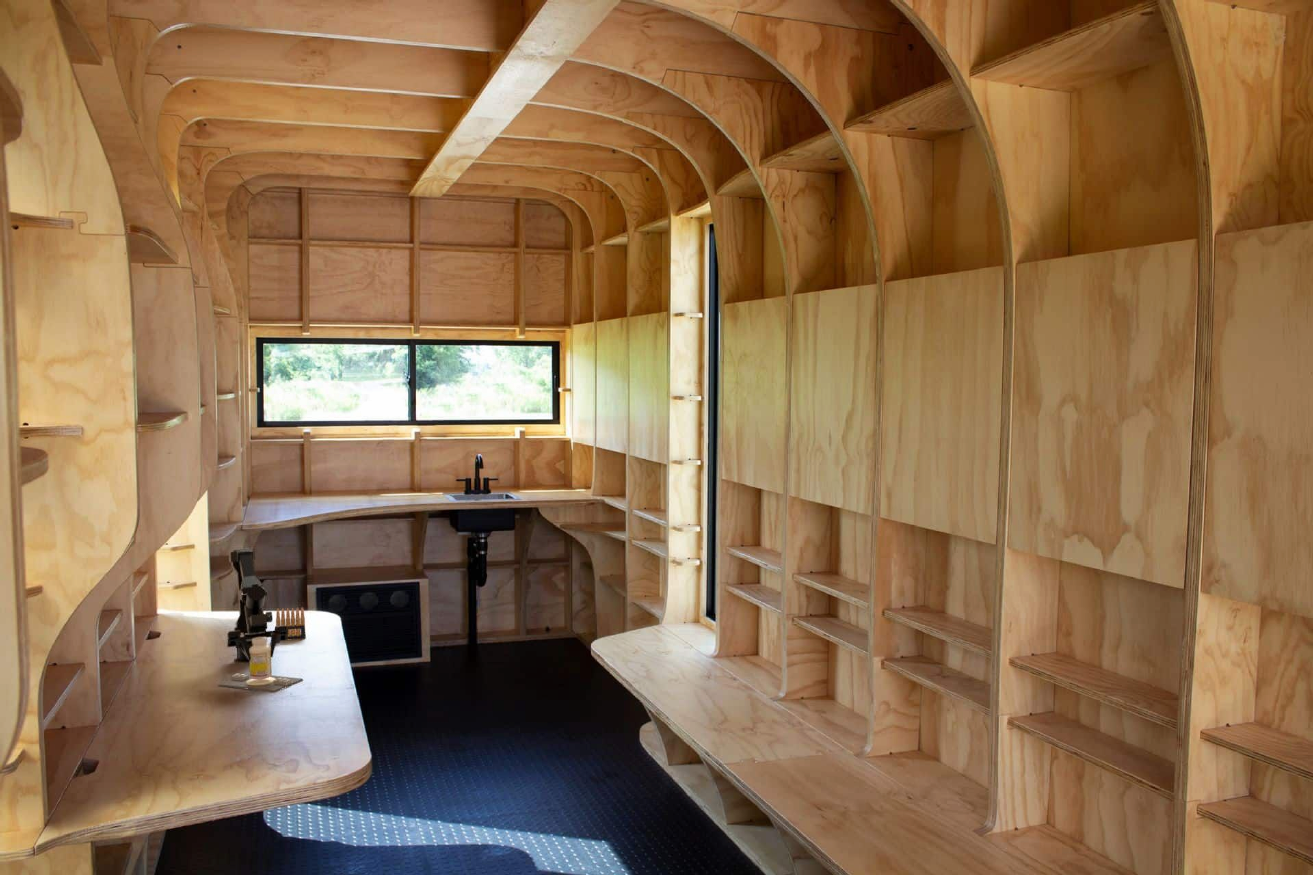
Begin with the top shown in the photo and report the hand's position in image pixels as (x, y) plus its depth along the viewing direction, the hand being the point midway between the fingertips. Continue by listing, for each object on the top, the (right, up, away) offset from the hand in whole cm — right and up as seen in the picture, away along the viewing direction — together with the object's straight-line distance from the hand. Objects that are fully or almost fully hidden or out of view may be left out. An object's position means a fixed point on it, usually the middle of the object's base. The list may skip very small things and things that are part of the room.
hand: (260, 658), depth 359 cm
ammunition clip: (-11, -5, +62) cm, 63 cm away
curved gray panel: (0, -9, +2) cm, 9 cm away
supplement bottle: (-1, -7, +2) cm, 7 cm away
